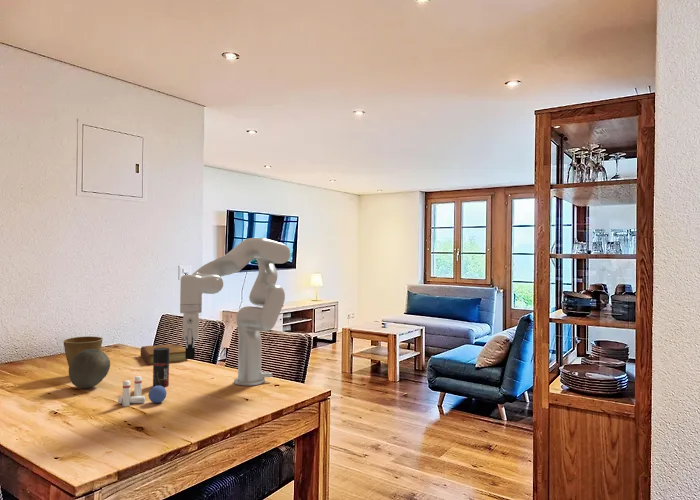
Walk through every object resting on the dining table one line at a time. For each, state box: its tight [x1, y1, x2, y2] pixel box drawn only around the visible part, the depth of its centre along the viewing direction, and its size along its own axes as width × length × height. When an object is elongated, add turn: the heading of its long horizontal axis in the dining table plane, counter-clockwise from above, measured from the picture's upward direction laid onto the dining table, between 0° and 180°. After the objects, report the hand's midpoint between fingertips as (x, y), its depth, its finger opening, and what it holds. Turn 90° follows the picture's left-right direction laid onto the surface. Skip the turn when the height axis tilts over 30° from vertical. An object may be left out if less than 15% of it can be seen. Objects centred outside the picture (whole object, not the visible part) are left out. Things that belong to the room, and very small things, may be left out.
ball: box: [148, 386, 168, 404], centre depth 174 cm, size 6×6×6 cm
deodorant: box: [152, 347, 170, 388], centre depth 196 cm, size 6×6×15 cm
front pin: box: [117, 395, 146, 405], centre depth 172 cm, size 2×2×8 cm
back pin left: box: [122, 379, 131, 408], centre depth 170 cm, size 2×2×8 cm
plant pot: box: [63, 336, 104, 367], centre depth 209 cm, size 15×15×16 cm
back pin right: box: [133, 375, 143, 396], centre depth 176 cm, size 2×2×8 cm
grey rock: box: [68, 349, 111, 390], centre depth 192 cm, size 14×14×15 cm
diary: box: [140, 343, 189, 366], centre depth 246 cm, size 23×19×6 cm
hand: (190, 358), depth 178 cm, fingers closed
